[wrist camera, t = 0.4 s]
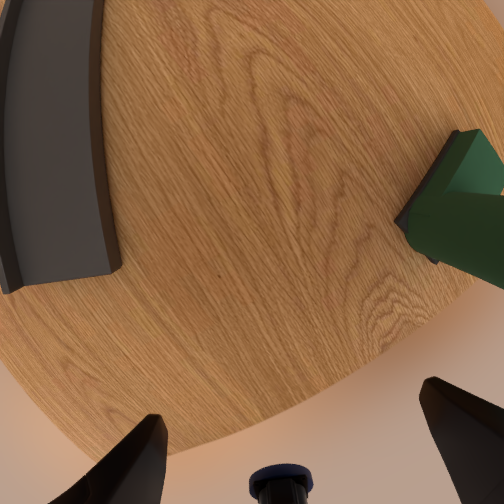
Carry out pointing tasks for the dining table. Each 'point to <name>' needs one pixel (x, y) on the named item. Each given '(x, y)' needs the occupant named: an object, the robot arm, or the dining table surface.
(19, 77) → the shoe shelf
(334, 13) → the dining table surface
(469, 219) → the green cylinder on block
